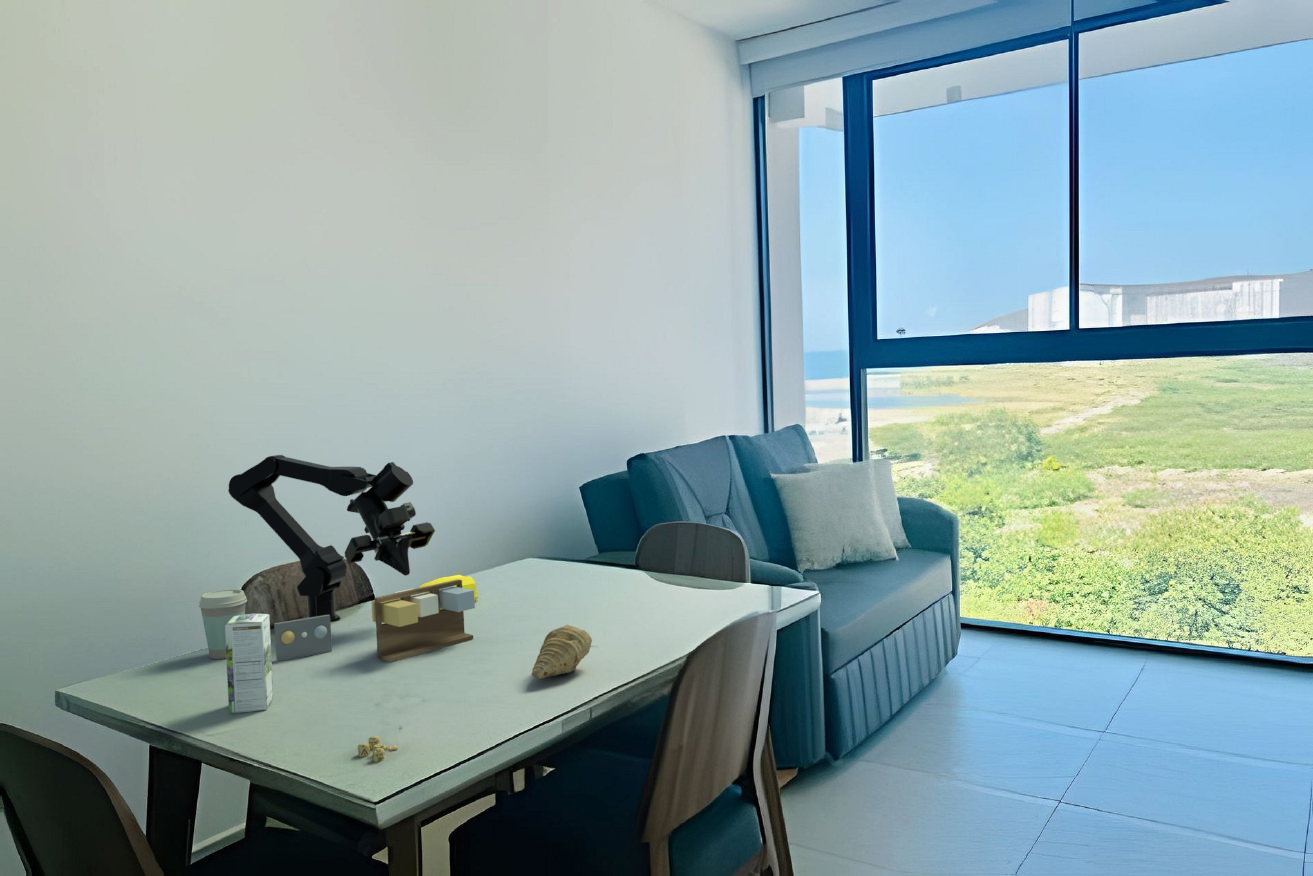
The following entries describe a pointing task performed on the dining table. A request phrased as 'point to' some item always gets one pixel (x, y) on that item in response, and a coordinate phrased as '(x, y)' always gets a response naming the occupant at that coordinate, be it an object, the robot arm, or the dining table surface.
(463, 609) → the right button
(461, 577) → the yellow curved piece
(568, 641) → the seashell
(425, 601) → the middle button
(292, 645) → the card
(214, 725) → the dining table surface
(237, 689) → the syrup box
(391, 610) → the left button
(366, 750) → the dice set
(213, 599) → the coffee cup
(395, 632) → the button board
